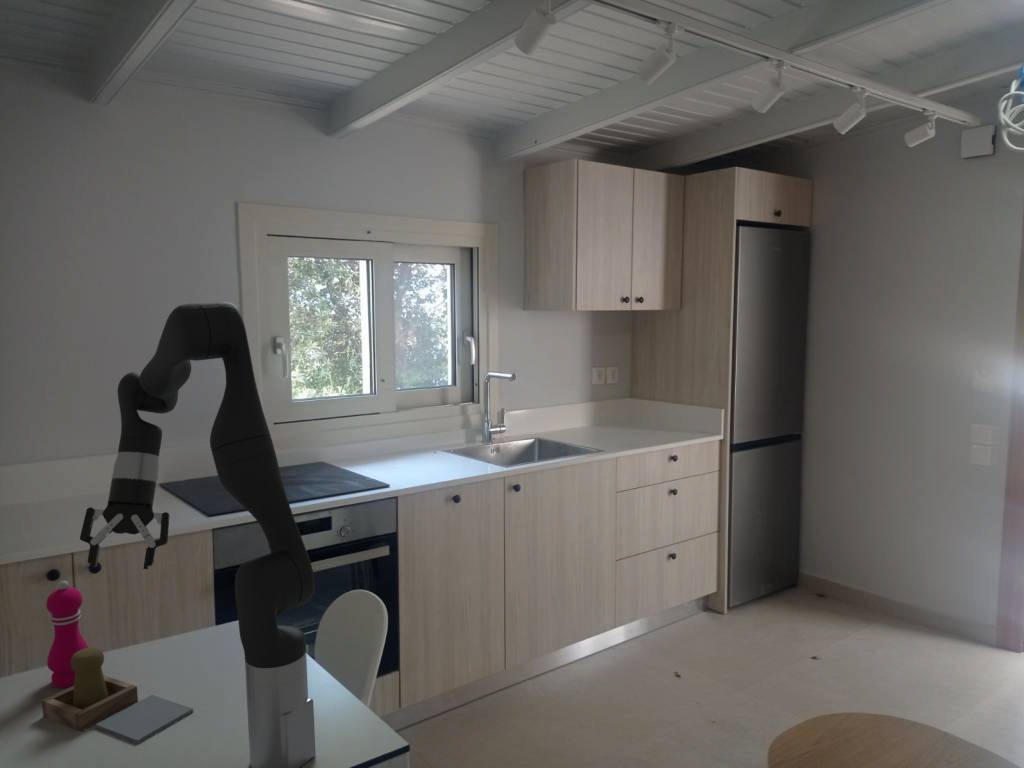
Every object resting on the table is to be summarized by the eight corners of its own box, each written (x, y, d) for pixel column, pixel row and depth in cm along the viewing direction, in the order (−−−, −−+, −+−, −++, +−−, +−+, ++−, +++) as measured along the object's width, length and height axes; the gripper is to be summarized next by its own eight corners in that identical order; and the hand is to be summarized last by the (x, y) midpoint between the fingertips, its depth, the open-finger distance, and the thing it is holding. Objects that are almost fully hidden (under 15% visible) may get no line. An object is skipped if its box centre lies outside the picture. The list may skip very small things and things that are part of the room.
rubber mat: (193, 711, 134) (192, 708, 134) (137, 743, 124) (137, 740, 124) (152, 697, 139) (151, 694, 139) (95, 727, 129) (95, 724, 129)
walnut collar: (137, 701, 138) (136, 686, 137) (81, 731, 128) (79, 714, 128) (100, 688, 143) (99, 673, 142) (43, 716, 133) (41, 700, 133)
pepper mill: (54, 674, 149) (47, 576, 147) (95, 668, 151) (88, 572, 149) (44, 692, 142) (35, 589, 140) (87, 685, 144) (79, 585, 142)
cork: (93, 719, 132) (88, 659, 131) (63, 716, 133) (59, 657, 132) (117, 702, 138) (113, 644, 137) (89, 699, 139) (85, 642, 138)
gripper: (88, 473, 134) (72, 566, 130) (175, 479, 139) (161, 569, 135) (94, 477, 141) (79, 566, 137) (176, 483, 146) (164, 569, 142)
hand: (120, 568), depth 136 cm, fingers open, 8 cm apart
